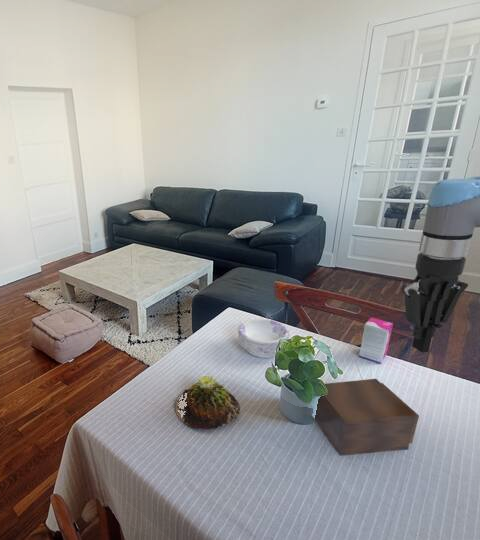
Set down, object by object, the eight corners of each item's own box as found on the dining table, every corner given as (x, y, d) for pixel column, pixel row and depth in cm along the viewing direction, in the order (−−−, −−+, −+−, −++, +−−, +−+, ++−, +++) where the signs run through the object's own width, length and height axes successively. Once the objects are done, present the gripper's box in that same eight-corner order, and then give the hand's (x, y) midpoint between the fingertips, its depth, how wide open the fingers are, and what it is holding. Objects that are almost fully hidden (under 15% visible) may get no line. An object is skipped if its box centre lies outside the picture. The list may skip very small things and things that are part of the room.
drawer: (382, 407, 83) (387, 382, 80) (417, 442, 73) (425, 414, 70) (322, 413, 83) (325, 388, 81) (349, 449, 73) (354, 421, 71)
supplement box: (381, 364, 98) (388, 330, 94) (358, 357, 103) (363, 324, 99) (387, 355, 102) (393, 322, 98) (364, 348, 106) (369, 316, 102)
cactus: (211, 380, 100) (211, 352, 97) (253, 413, 87) (254, 383, 83) (163, 403, 94) (161, 374, 90) (200, 443, 80) (199, 411, 77)
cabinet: (370, 410, 84) (376, 378, 80) (408, 449, 73) (416, 414, 70) (311, 415, 84) (314, 384, 81) (340, 455, 73) (345, 421, 70)
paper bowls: (229, 343, 117) (229, 323, 114) (268, 333, 120) (268, 314, 117) (256, 369, 103) (257, 346, 100) (299, 357, 106) (301, 335, 103)
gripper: (454, 246, 75) (432, 337, 83) (396, 253, 75) (380, 343, 83) (491, 256, 68) (463, 354, 76) (427, 264, 68) (406, 361, 76)
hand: (420, 348), depth 80 cm, fingers closed
